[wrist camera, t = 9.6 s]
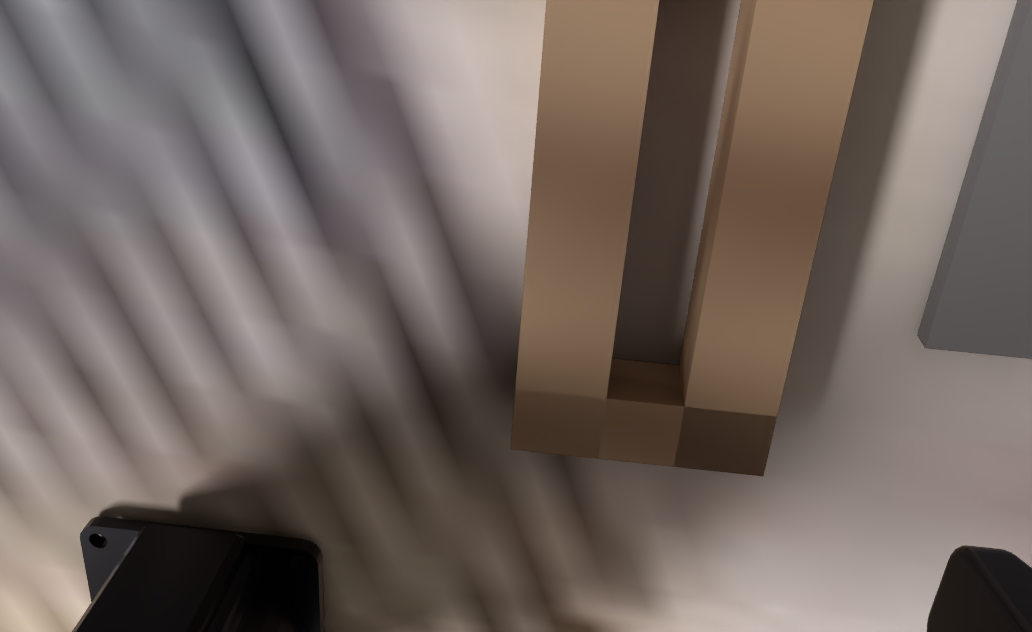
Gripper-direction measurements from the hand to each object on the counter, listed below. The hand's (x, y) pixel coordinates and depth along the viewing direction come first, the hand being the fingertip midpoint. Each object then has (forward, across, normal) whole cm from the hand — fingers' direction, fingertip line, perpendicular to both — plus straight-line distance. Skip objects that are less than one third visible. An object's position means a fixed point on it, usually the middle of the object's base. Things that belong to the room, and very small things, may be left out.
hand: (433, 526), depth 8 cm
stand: (+13, -3, +1) cm, 13 cm away
